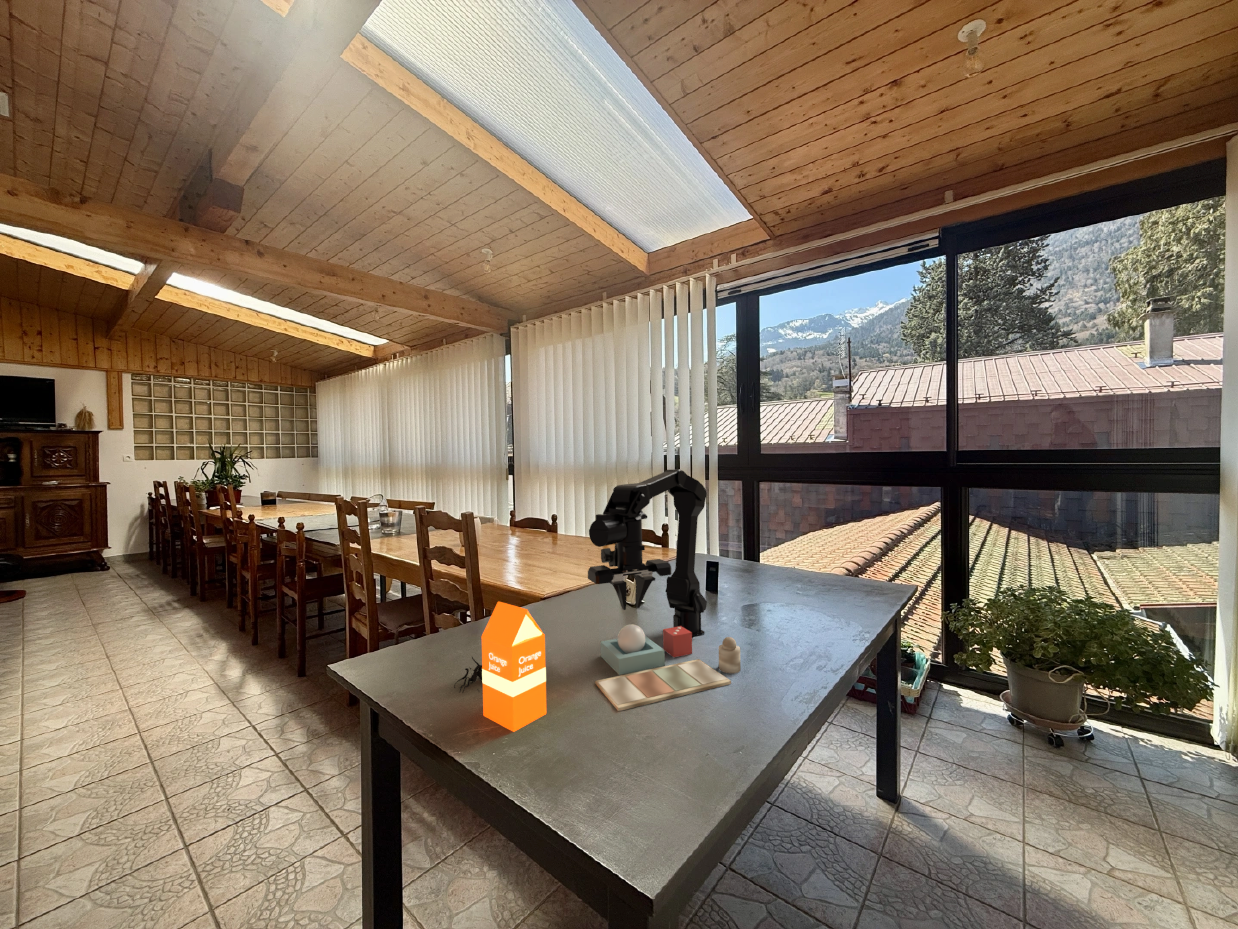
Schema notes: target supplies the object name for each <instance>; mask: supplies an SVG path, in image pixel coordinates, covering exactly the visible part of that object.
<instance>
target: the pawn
mask: <svg viewBox="0 0 1238 929" xmlns="http://www.w3.org/2000/svg"><path fill="white" fill-rule="evenodd" d="M721 642H722V643H721V644H720V645H719V646H718V670H719V671H721V672H722V673H724V674H738V673H740V672H741V647H740V646H739V645H737V642H736V640H735V639H734V638H733V637H731V636H726V637H725V638H723V640H722V641H721Z"/></svg>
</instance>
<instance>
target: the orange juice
mask: <svg viewBox="0 0 1238 929" xmlns="http://www.w3.org/2000/svg"><path fill="white" fill-rule="evenodd" d="M480 638H481V665H482V680H481V681H482V693H483V694H482V707H483V709H482V711H483V712H482V714H483V717H485V718H487V719H489V720H491V721H492V722H495V723H496V724H498V725H500V726H501V727H503V728H505V729H507V730H509V731H511V732H513V733H515V732H516V731H518V730H520V729H521V728H524V727H525V726H527V725H529V724H531V723H533V722H534V721H536V720H538V719H540V718H541V717H543V716H545V715H546V714H547V667H546V634H545V633H544V632H543V631H542V629H541V628H540V626H539V625H538V624H537V622H536V621H535V618H533V617H532V615H531V613H530V612H529V609H527V608H524V607H520V606H517V605H513V604H510V603H506V602H504V601H503V602H502V601H497V602H496V605H495V607H494V609H493V611H492V613H491V615H490V618H489V619H488V622H487V624H486V626H485V628H484V630H483V632H482V635H481V637H480Z"/></svg>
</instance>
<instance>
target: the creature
mask: <svg viewBox="0 0 1238 929" xmlns="http://www.w3.org/2000/svg"><path fill="white" fill-rule="evenodd" d="M471 659H472V661H473V662H474V663H475V664H476V667H475V668H474V669H472V667H470V666H469V667H468V668H467V667H466V668H464V670H465V671H466V673H465V675H464V676H463V677H461V678H460V679H458V680H457V681H456V682H455V683H454V686H453V688H454V689H456V684H457V683H458V682H460V681H462V680H464V681H463V684H462V685H461V686H460V687H459V693H462V694H463V693H464V692H465V689H466V688H469V687H470V683H471V684H473V683H476V682H477V680H478V679H479V681H482V664H479V663H478V662H477V660H475V658H474V657H473V656H471ZM469 671H473V672H470V673H471V676H470V677H469V676H468V675H469ZM467 679H468V680H467ZM466 682H467V684H466ZM462 688H463V689H462ZM481 688H482V689H483V686H481ZM461 690H462V691H461ZM476 690H477V691H478V692H480V688H476ZM481 694H482V695H483V692H482V693H481Z"/></svg>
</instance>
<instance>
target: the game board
mask: <svg viewBox="0 0 1238 929" xmlns="http://www.w3.org/2000/svg"><path fill="white" fill-rule="evenodd" d="M594 683H595V685H596V686H597V687H598V689H599V690H600V691H601V693H603V695H604V696H605V697H606V698H607V700H608V701H609V702H610V703H611V705H612V706H614V708H615V709H616V710H617V712H620V711H624V710H628V709H629V710H630V709H632V708H638V707H642V706H646V705H649V704H653V703H659V702H662V701H665V700H671V699H674V698H678V697H682V696H686V695H691V694H695V693H699V692H704V691H707V690H712V689H717V688H719V687H724V686H728V685H731V684H732V680H731V679H729V678H728V677H726V676H725V675H723V674H721V673H720V672H719V671H717V670H716V669H714V668H713V667H711V666H710V665H708V664H707V663H706V662H703V661H702V660H701V659H700V658H698V659H691V660H689V661H683V662H678V663H673V664H670V665H665V666H661V667H656V668H651V669H647V670H642V671H637V672H632V673H628V674H623V675H617V676H613V677H612V676H611V677H608V678H603V679H602V678H601V679H598V680H595V681H594Z"/></svg>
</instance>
